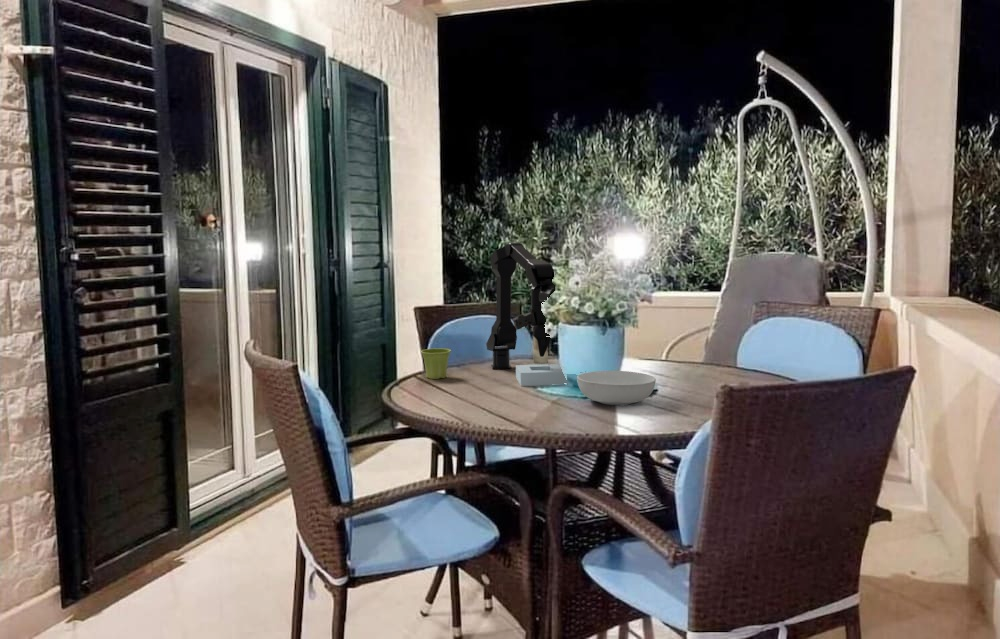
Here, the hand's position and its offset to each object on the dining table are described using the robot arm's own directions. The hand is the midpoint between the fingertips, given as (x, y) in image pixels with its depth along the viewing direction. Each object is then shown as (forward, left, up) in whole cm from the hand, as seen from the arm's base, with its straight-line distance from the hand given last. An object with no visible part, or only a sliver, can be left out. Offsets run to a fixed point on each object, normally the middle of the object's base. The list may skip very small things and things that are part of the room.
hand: (540, 355), depth 244 cm
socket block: (0, 0, -8) cm, 8 cm away
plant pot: (-11, -32, -8) cm, 35 cm away
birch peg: (0, 0, -2) cm, 2 cm away
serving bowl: (+32, +16, -8) cm, 37 cm away
